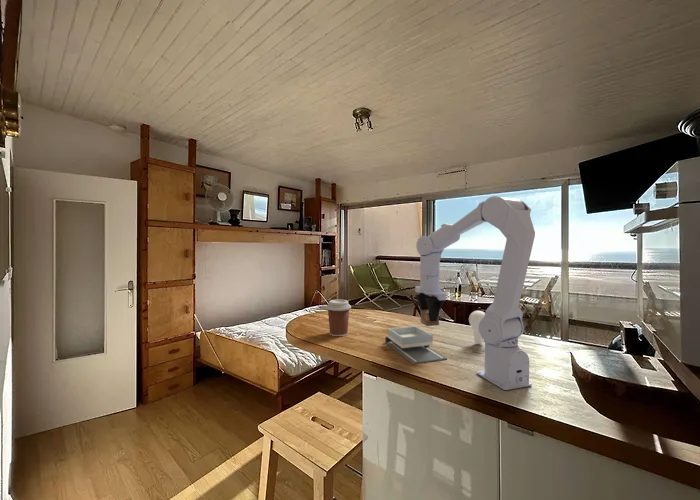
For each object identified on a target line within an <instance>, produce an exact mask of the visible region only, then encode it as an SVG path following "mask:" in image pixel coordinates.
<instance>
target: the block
mask: <svg viewBox="0 0 700 500" xmlns="http://www.w3.org/2000/svg"><path fill="white" fill-rule="evenodd" d="M420 324H422V325H424V326H426V327H431V326H434V327H435V326H439V325H440V314H439V315H438V318H437V321H430V319H429V311H428V310H420Z"/></svg>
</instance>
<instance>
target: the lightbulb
mask: <svg viewBox="0 0 700 500" xmlns="http://www.w3.org/2000/svg"><path fill="white" fill-rule="evenodd" d="M484 316H485V312H484V311H482V310H474V311H472V312H471V313H470V314H469V317H468V322H469V325H470V326H471V329H472V332H473V337H474V340H473V341H474V343H475V344H477V345H481V344H483V343H484V339H483V338H482V337H481V335H480V333H479V323H480V321H481V320H482V319H483V318H484Z"/></svg>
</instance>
